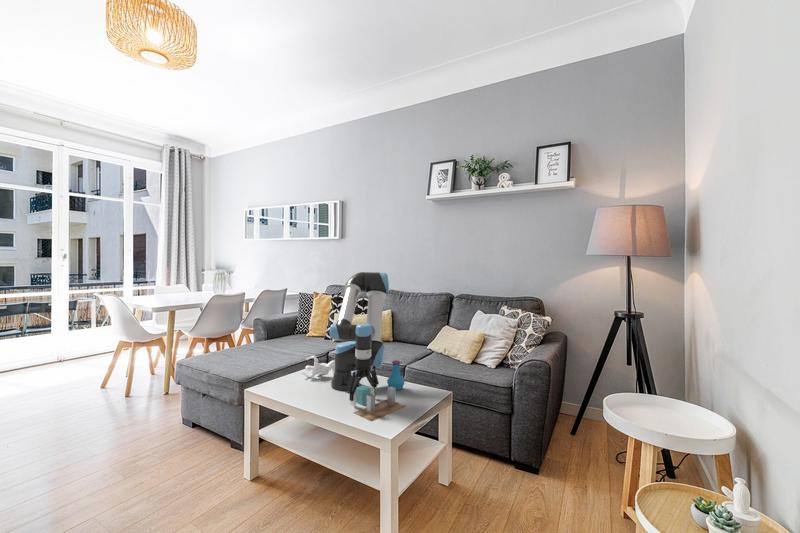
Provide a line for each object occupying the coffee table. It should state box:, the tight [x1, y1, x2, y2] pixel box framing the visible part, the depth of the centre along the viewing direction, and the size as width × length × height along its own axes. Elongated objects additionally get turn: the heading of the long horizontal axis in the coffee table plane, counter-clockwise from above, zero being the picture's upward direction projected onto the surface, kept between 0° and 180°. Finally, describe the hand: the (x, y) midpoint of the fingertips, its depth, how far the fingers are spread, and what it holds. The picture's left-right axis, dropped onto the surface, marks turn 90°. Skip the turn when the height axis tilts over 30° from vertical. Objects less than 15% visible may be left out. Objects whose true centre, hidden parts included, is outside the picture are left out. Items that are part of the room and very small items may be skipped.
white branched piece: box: [301, 355, 335, 379], centre depth 210 cm, size 13×13×18 cm
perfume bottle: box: [386, 359, 406, 391], centre depth 191 cm, size 9×9×15 cm
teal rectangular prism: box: [355, 385, 371, 406], centre depth 171 cm, size 5×5×8 cm
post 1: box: [366, 394, 376, 415], centre depth 159 cm, size 3×3×8 cm
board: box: [353, 399, 407, 422], centre depth 163 cm, size 12×22×1 cm, turn 138°
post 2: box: [386, 386, 397, 407], centre depth 168 cm, size 3×3×8 cm
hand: (362, 403), depth 171 cm, fingers open, 11 cm apart
